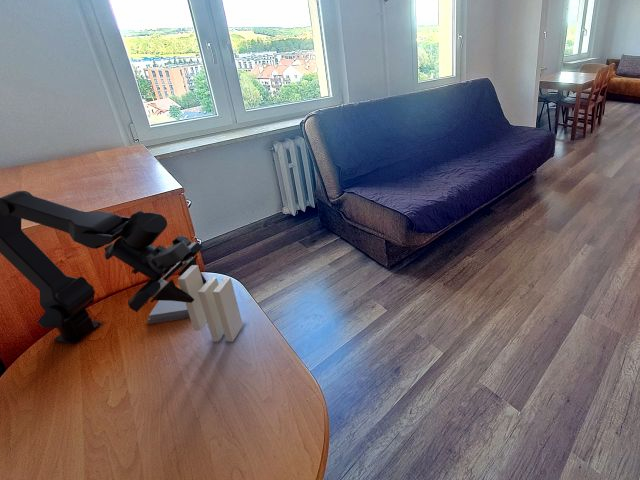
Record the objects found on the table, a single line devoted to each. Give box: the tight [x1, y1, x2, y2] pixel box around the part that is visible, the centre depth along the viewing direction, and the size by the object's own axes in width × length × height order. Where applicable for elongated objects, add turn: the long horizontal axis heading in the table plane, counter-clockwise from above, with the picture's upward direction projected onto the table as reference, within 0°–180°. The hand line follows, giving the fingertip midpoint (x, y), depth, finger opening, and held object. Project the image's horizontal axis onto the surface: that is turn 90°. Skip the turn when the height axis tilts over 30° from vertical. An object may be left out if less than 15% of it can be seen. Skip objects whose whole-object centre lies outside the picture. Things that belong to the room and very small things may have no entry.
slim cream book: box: [177, 264, 207, 331], centre depth 82 cm, size 2×5×16 cm, turn 0°
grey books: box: [147, 300, 190, 325], centre depth 93 cm, size 11×8×3 cm
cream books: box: [198, 276, 244, 342], centre depth 84 cm, size 5×5×16 cm
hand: (200, 293), depth 82 cm, fingers closed on slim cream book, 5 cm apart
